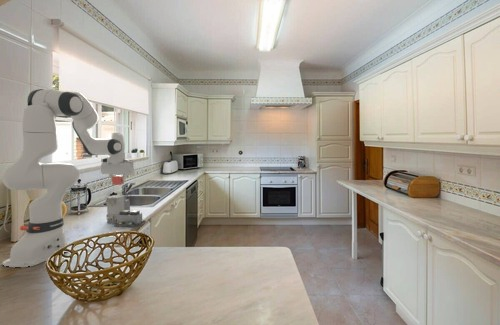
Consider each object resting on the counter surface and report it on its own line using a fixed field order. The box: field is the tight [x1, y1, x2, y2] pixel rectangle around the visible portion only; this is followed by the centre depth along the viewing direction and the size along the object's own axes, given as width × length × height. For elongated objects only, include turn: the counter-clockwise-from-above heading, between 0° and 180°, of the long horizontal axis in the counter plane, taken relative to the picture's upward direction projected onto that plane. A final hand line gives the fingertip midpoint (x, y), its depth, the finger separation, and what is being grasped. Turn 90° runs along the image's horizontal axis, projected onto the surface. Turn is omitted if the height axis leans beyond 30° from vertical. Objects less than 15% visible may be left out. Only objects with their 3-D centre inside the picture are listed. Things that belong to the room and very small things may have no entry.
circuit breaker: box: [105, 194, 131, 224], centre depth 160 cm, size 8×14×15 cm, turn 174°
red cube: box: [111, 174, 125, 186], centre depth 159 cm, size 5×5×5 cm
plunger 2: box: [129, 209, 141, 215], centre depth 151 cm, size 4×4×6 cm
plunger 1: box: [120, 209, 131, 215], centre depth 151 cm, size 4×4×6 cm
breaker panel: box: [113, 212, 146, 228], centre depth 151 cm, size 12×12×6 cm
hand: (118, 181), depth 159 cm, fingers closed on red cube, 5 cm apart
